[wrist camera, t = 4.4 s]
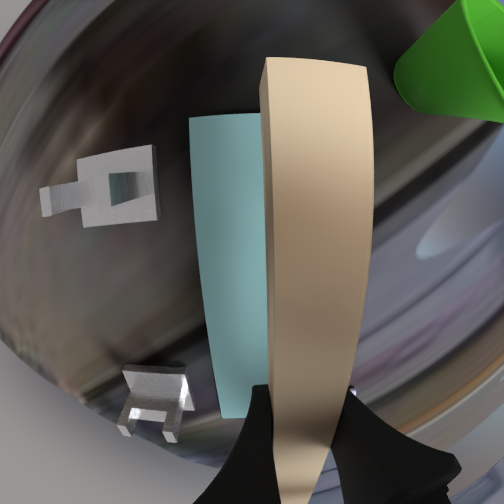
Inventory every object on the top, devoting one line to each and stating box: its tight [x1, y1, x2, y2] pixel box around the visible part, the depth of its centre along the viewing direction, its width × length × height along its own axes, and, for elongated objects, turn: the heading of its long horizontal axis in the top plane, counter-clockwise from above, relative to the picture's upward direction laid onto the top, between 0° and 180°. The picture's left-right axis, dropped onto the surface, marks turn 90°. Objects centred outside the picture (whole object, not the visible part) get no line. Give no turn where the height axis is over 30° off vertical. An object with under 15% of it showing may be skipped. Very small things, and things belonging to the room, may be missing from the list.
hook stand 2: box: [117, 364, 196, 443], centre depth 19 cm, size 5×6×6 cm
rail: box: [259, 57, 374, 504], centre depth 10 cm, size 24×2×2 cm, turn 2°
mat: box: [189, 113, 268, 418], centre depth 20 cm, size 26×10×1 cm, turn 2°
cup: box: [394, 0, 504, 123], centre depth 10 cm, size 9×9×11 cm
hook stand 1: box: [39, 145, 161, 228], centre depth 14 cm, size 5×6×6 cm
